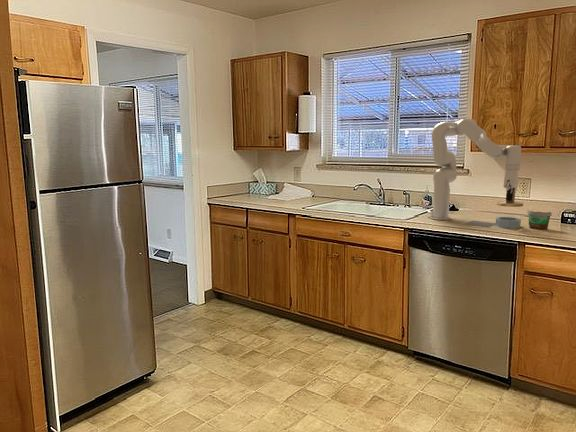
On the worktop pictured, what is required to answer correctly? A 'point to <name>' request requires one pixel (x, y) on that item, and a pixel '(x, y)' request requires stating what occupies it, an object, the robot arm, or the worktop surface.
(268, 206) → the worktop surface
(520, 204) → the lid
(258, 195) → the worktop surface
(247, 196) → the worktop surface
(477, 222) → the mat
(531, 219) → the food container
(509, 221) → the bowl
